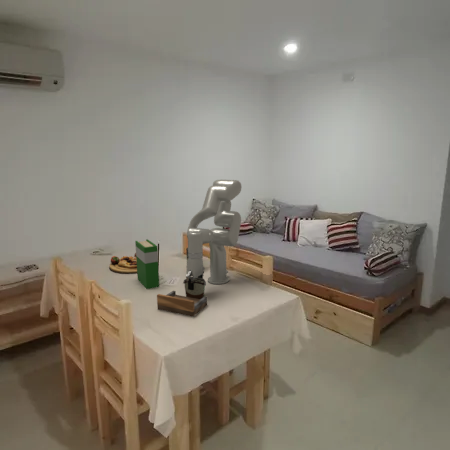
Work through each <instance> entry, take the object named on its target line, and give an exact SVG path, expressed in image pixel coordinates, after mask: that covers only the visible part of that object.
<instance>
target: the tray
mask: <svg viewBox="0 0 450 450" xmlns="http://www.w3.org/2000/svg"><path fill="white" fill-rule="evenodd" d="M156 304H157V310H160V311H164V312H168V313H173V314H178V315H182V316H185V317H186V316H187V317H192V318H193V317H195V316H197V315H198V313H200V312H201V311H203V309H204V308H206V307H207V306H208V297H207V296H205V295H204V297H203V298H202V299H196V298H191V297H186V295H180V294H176V290H172V291H170V292H169V293H167V294H163V293H158V294H157V295H156Z"/></svg>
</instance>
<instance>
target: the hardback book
mask: <svg viewBox="0 0 450 450" xmlns="http://www.w3.org/2000/svg"><path fill="white" fill-rule="evenodd" d="M134 243H135V253H136V260H137V273H136V274H137V275H136V276H137V281H138V282H139V283H141V286H143V287H144V288H145V289H146V290H150V289H155V288H159V287H160V274H159V273H160V271H159V264H158V263H159V255H158V253H159V251H158V245H156V244H155V243H154V242H152V241H150V240H149V239H148V238H147V239H145V240H142V241H138V240H135V242H134Z"/></svg>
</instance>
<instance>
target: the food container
mask: <svg viewBox="0 0 450 450" xmlns="http://www.w3.org/2000/svg"><path fill="white" fill-rule="evenodd" d="M190 279H191V280H192V278H190ZM193 283H194V290H188V282H187V279H186V278H185V279H183V283H182V284H183V285H184V290H185V297H191V298H196V299H202V298H203V297H204V296H205V287H206V286H207V281H206V280H205V278H204V277H203V278H199V277H196V278H194V281H193Z"/></svg>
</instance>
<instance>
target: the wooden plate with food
mask: <svg viewBox="0 0 450 450" xmlns="http://www.w3.org/2000/svg"><path fill="white" fill-rule="evenodd" d="M109 270H110V271H112V272H113V273H117V274H121V275H133V274H135V275H136V274H137V260H136V252H135V253H134V255H133V256H132V255H131V256H127V255H125V256H123V257H122V256H121V257H120V258H119V257H118V256H117V255H114V256H111V258H110V264H109Z"/></svg>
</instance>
